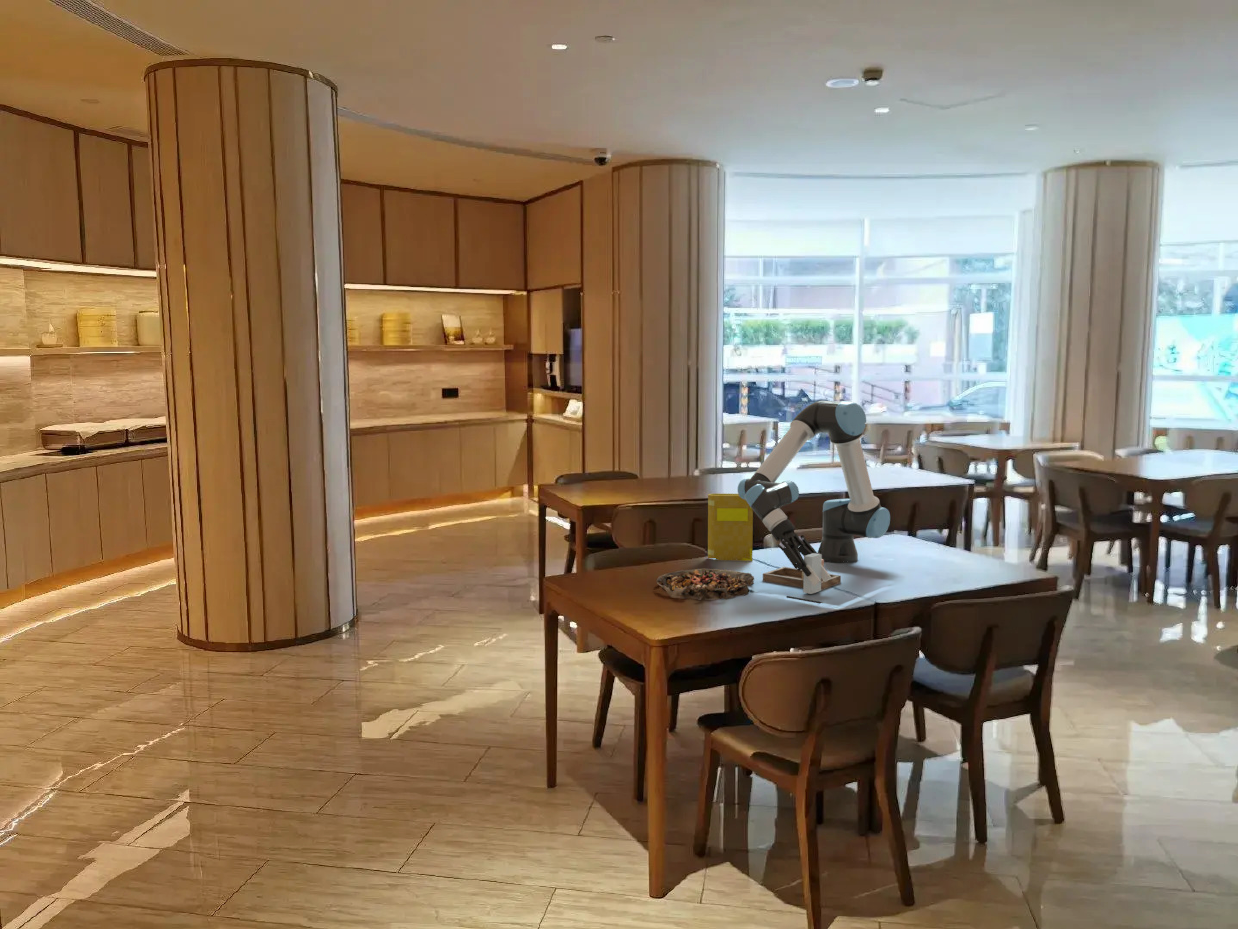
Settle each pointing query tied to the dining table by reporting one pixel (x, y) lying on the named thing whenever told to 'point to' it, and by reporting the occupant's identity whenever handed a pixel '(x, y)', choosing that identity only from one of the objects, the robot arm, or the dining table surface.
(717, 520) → the book
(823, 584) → the wooden tray
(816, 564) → the white rectangular block
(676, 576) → the food dish
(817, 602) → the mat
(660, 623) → the dining table surface
